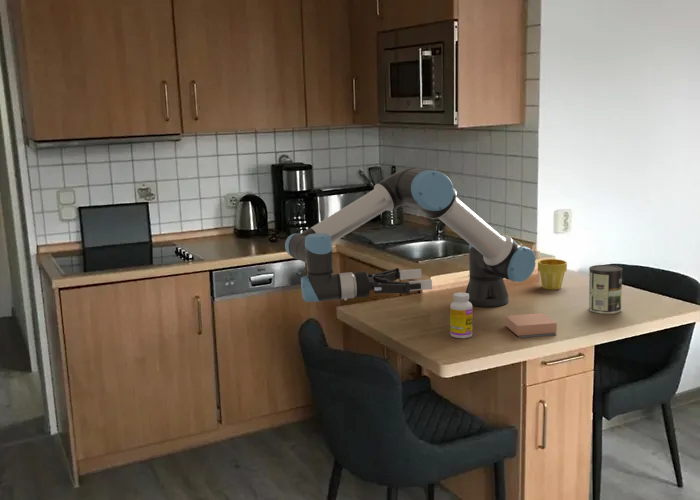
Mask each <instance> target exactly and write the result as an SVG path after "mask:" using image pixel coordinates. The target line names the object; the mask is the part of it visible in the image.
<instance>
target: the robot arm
mask: <svg viewBox="0 0 700 500" xmlns="http://www.w3.org/2000/svg"><path fill="white" fill-rule="evenodd" d="M457 196H458V195H457V190H456V189H455V187H454V184H453V182H452V180H451V179H450V178H449V176H447V174H445V173H443V172H441V171H438V170H435V169H422V168H421V169H420V168H414V167H413V168H412V167H408V168H403V169H401V170H399V171H397V172H395V173H393V174H391V175H389V176H387V177H386V178H384V179H383V180H381V181H380V182H378V183H376V184H375V185H374V187H373V189H372V190H370V191H369V192H368V193H366V194H364V195H362V196H361V197H359V198H357V199H356V200H353V202H350V204H348V205H346V206H344V207H342V208H341V209H339V210H338V211H336V212H335V213H333V214H331V215H329V216H328V217H326V218H324V219H322V220H321V221H320V222H318V223H316V224H314V225H313V226H311V227H310V228H308V229H306V230H304V231H303V232H297V233H296V232H295V233H292V234H290V235H289V236H288V237H287V238H286V240H285V243H284V248H285V252H286V253H287V254H288V255H289V256H290V257H292V258H293V259H294V260H298V261H301V262H303V263H304V264H306V271H307V273H306V275H305V276H302V277H300V286H301V296H302V300H303V301H304V302H306V303H311V302H318V303H320V302H326V301H327V302H328V301H333V300H334V301H335V300H336V301H337V300H344V301H345V302H346V301H348V299H354V298H357V299H360V298H368V297H369V296H370V292H371V291H373V292H374V294H403V295H404V294H406V295H410V294H411V292H413V291H414V292H415V291H426V290H432V289H433V281H432V280H433V279H422V268H413V269H404V270H403V269H402V270H400V268H398V267H395V268H393V269H389V270H384V271H381V272H377V273H368V272H367V271H365V270H364V271H355V272H354V273H353V272H351V271H350V272H342V273H341V272H338V273H334V263H333V245H332V244H333V243H336V242H337V241H338V240H340V239H342V238H343V237H345V236H347V235H348V234H350V233H351V232H353V231H354V230H356V229H359V227H361V226H362V225H365V224H366V223H367V222H369V221H371V220H372V219H374V218H376V217H378V216H379V215H381V214H382V213H384V212H386V211H387V212H393V210H394V209H396V208H399V207H403V206H409V207H413V208H414V207H415V208H416V209H418V210H419V211H421V212H422V213H424V214H425V216H427V217H428V218H430V219H431V220H437V219H438V220H440V221H441V222H442V223H443V224H445V225H446V226H447V227H448V228H449V229H450V230H452V231H453V232H454V233H455V234H457V236H459V237H460V238H461V239H463V240H464V241H465V242H466V243H468V244H469V245H468V255H469V257H468V261H469V262H468V264H469V267H468V268H469V269H468V270H469V280H468V283H467V287H466V289H465V292H464V293H468V294H469V300H468V301H469V302H470V303H471V304H472V306H475V307H484V308H489V307H491V308H493V307H500V306H504V305H506V304H508V303H509V301H510V299H509V298H510V297H509V296H510V295H509V292H508V289H507V286H506V284H505V280H504V279H506V280H508V281H511V282H517V283H523V282H524V281H526V280H528V279H529V278H530V277H531V275H533V273H534V271H535V267H536V264H537V263H536V259H537V258H536V254H535V252H534V251H533V249H531V248H530V247H527V246H522V245H521V244H519V243H518V242H517V241H515V239H513V238H512V237H511V236H510V235H507V234H500V233H499V232H498V231H497V230H496V229H494V228H493V227H492V226H491V225H490V224H488V222H486V221H485V219H483V218H482V217H480V216H479V215H478V214H477V213H476V212H475V211H474V210H472V209H471V208H470V207H469V206H467V205H466V204H465V203H464V202H463V201H461V200H460V198H459V197H457ZM414 279H415V280H414ZM397 280H400V281H397ZM404 280H408V282H407V281H406V282H405V281H404ZM409 280H410V281H409Z"/></svg>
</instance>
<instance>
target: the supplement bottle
mask: <svg viewBox="0 0 700 500" xmlns="http://www.w3.org/2000/svg"><path fill="white" fill-rule="evenodd" d="M452 297H453V301H452V302H451V303H450V306H449V335H450V336H451V337H453V338H454V339H455V338H456V339H467V338H470V337H472V336H473V329H474V327H473V325H474V324H473V323H474V322H473V320H474V319H473V305H472V304H471V303H470V302H469V301H468V300H469V294H468V293H465V292H461V291H460V292H459V291H458V292H454V293H453V296H452Z"/></svg>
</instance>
